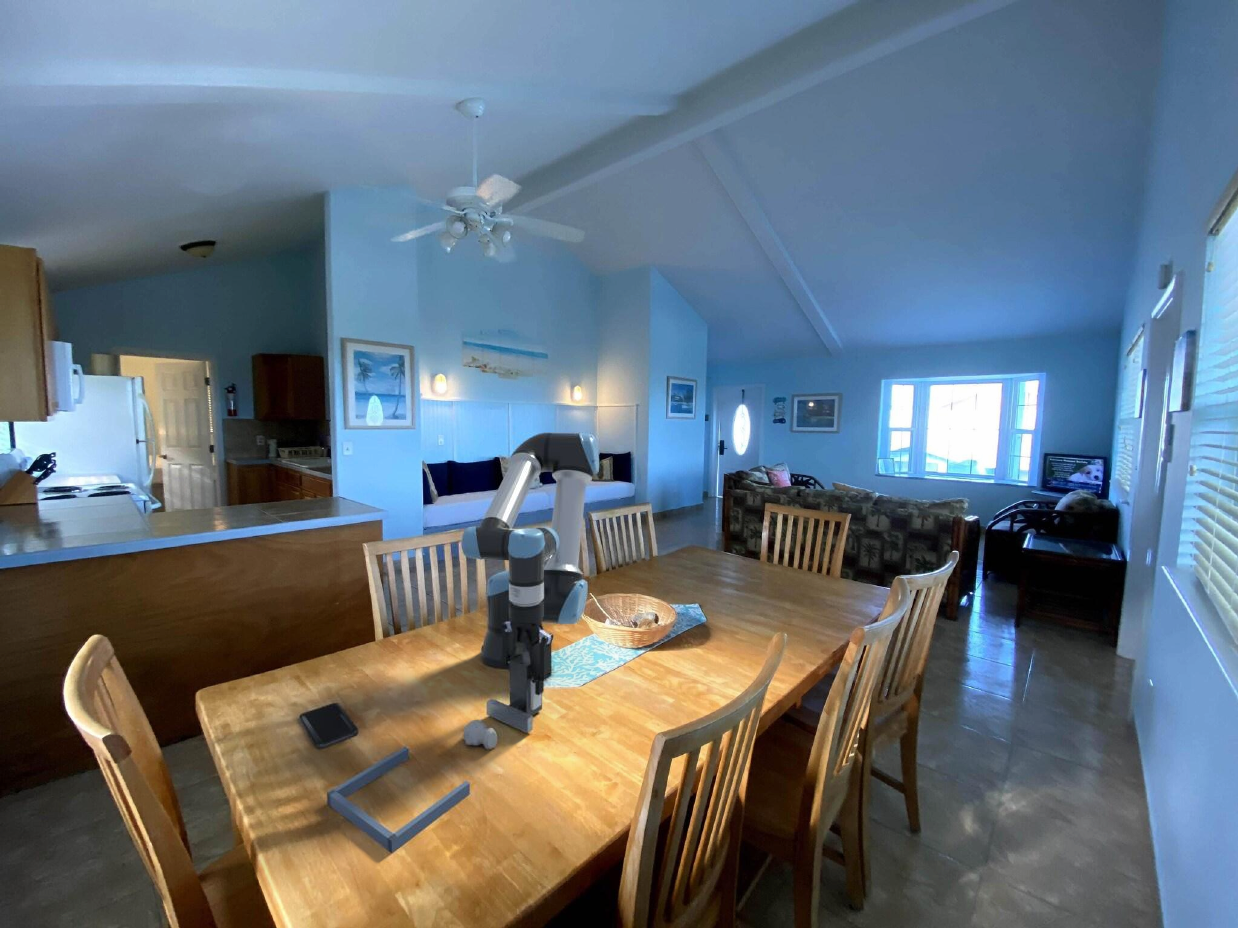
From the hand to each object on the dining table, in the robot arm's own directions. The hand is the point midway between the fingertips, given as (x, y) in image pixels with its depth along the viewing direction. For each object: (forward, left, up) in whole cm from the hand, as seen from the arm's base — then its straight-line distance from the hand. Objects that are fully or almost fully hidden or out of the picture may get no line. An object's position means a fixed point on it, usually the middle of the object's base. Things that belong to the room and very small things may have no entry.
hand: (526, 702), depth 116 cm
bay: (+31, 0, -2) cm, 32 cm away
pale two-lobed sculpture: (+13, 0, -3) cm, 14 cm away
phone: (+27, -31, -3) cm, 41 cm away
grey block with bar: (+2, 0, -2) cm, 3 cm away
